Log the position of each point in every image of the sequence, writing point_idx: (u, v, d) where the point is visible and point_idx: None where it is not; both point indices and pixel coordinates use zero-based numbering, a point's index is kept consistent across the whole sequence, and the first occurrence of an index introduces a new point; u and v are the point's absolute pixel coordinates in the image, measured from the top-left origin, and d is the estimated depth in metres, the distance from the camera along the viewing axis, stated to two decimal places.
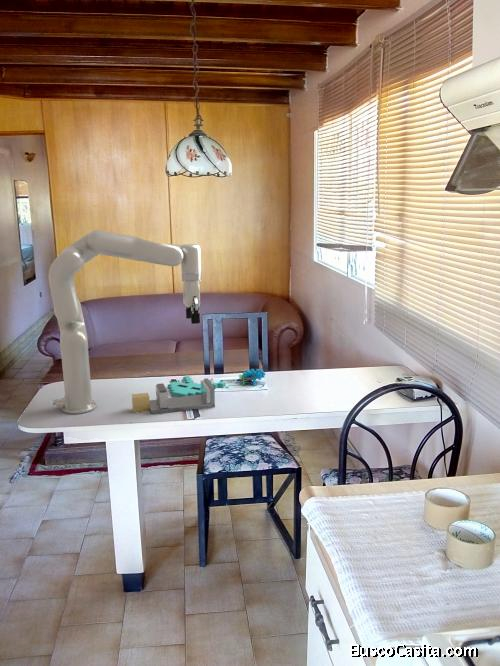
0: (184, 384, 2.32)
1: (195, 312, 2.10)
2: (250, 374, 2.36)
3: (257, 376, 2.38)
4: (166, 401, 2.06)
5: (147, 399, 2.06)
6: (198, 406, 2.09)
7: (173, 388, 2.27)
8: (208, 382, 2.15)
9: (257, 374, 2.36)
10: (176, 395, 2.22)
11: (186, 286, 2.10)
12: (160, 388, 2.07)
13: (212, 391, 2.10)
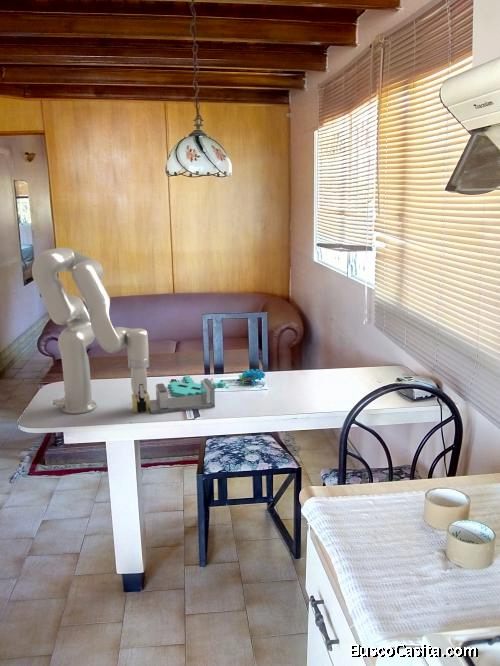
0: (184, 384, 2.32)
1: (141, 402, 2.04)
2: (250, 374, 2.36)
3: (257, 376, 2.37)
4: (166, 401, 2.06)
5: (147, 399, 2.06)
6: (198, 406, 2.09)
7: (173, 388, 2.27)
8: (208, 382, 2.15)
9: (257, 374, 2.36)
10: (176, 395, 2.22)
11: (132, 373, 2.02)
12: (160, 388, 2.07)
13: (212, 391, 2.10)
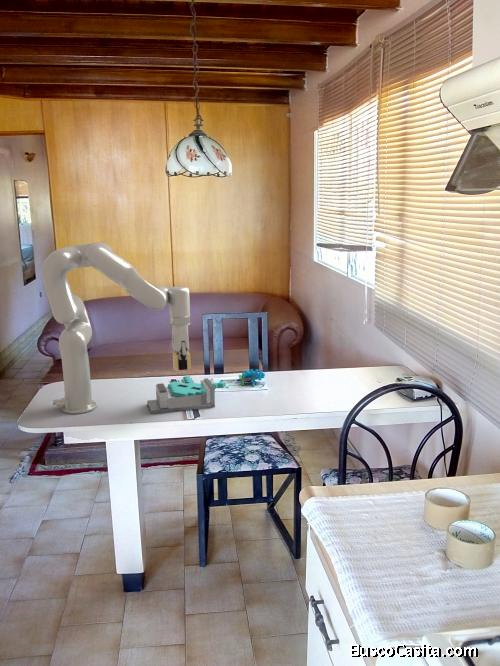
0: (184, 384, 2.32)
1: (182, 359, 2.05)
2: (249, 374, 2.35)
3: (257, 377, 2.37)
4: (166, 401, 2.06)
5: (188, 357, 2.08)
6: (198, 406, 2.09)
7: (173, 388, 2.27)
8: (208, 382, 2.15)
9: (257, 374, 2.36)
10: (176, 395, 2.23)
11: (174, 330, 2.03)
12: (160, 388, 2.07)
13: (212, 391, 2.10)
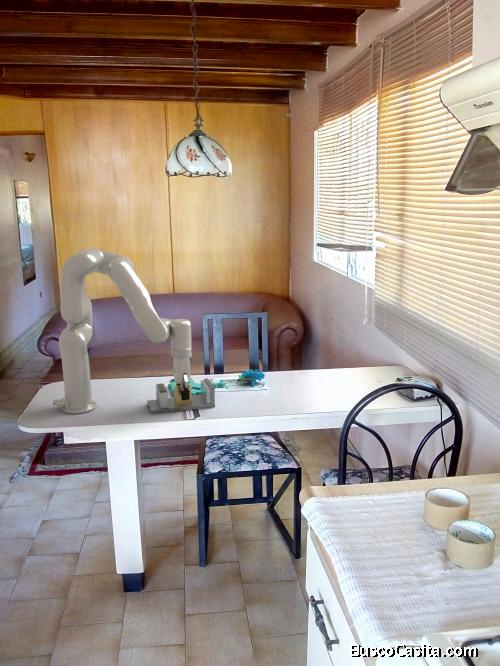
0: None
1: (185, 389, 2.06)
2: (249, 375, 2.35)
3: (257, 377, 2.37)
4: (166, 401, 2.06)
5: None
6: (198, 406, 2.09)
7: (173, 388, 2.27)
8: (208, 382, 2.15)
9: (256, 375, 2.35)
10: None
11: (176, 362, 2.06)
12: (160, 388, 2.07)
13: (212, 391, 2.10)
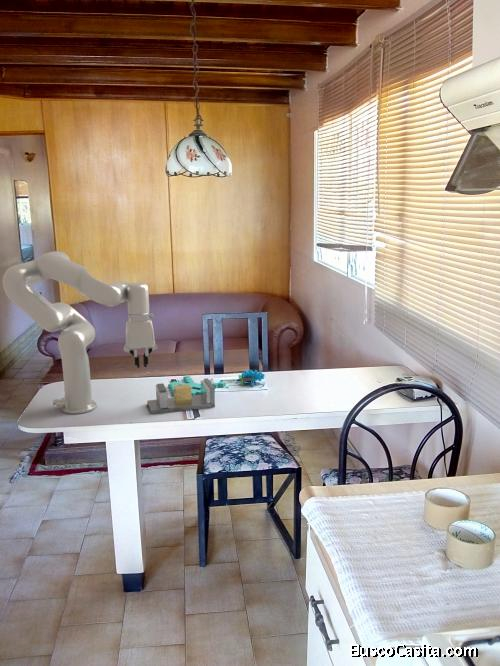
0: (184, 384, 2.32)
1: None
2: (249, 375, 2.35)
3: (256, 377, 2.37)
4: (166, 401, 2.06)
5: (189, 390, 2.11)
6: (198, 406, 2.09)
7: (173, 388, 2.27)
8: (208, 382, 2.15)
9: (256, 375, 2.35)
10: None
11: None
12: (160, 388, 2.07)
13: (212, 391, 2.10)
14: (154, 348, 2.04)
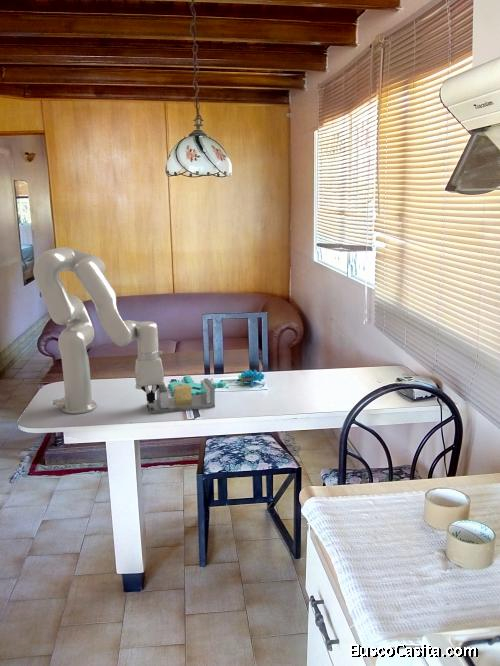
0: (184, 384, 2.32)
1: None
2: (248, 375, 2.35)
3: (256, 377, 2.36)
4: (166, 401, 2.06)
5: (189, 390, 2.11)
6: (198, 406, 2.09)
7: (173, 388, 2.27)
8: (208, 382, 2.15)
9: (256, 375, 2.35)
10: None
11: None
12: (160, 388, 2.07)
13: (212, 391, 2.10)
14: (161, 385, 2.08)
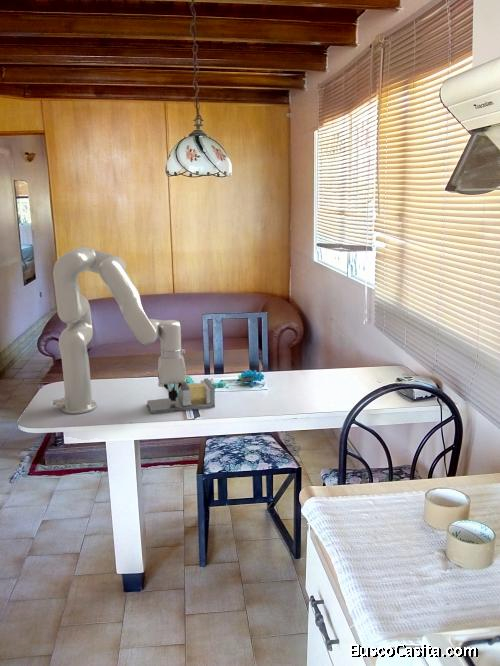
0: None
1: None
2: (248, 375, 2.35)
3: (256, 377, 2.36)
4: (189, 398, 2.08)
5: (202, 389, 2.12)
6: (198, 406, 2.09)
7: None
8: (208, 382, 2.15)
9: (255, 375, 2.34)
10: None
11: None
12: (183, 386, 2.10)
13: (212, 391, 2.10)
14: (183, 383, 2.11)
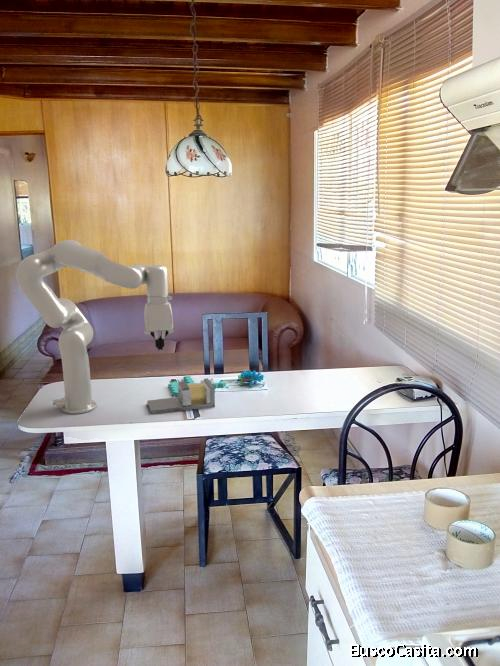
0: None
1: None
2: (248, 375, 2.34)
3: (256, 378, 2.36)
4: (189, 398, 2.08)
5: (202, 389, 2.12)
6: (198, 406, 2.09)
7: (173, 388, 2.27)
8: (208, 382, 2.15)
9: (255, 376, 2.34)
10: (176, 395, 2.23)
11: None
12: (183, 386, 2.10)
13: (212, 391, 2.10)
14: (170, 331, 2.05)
